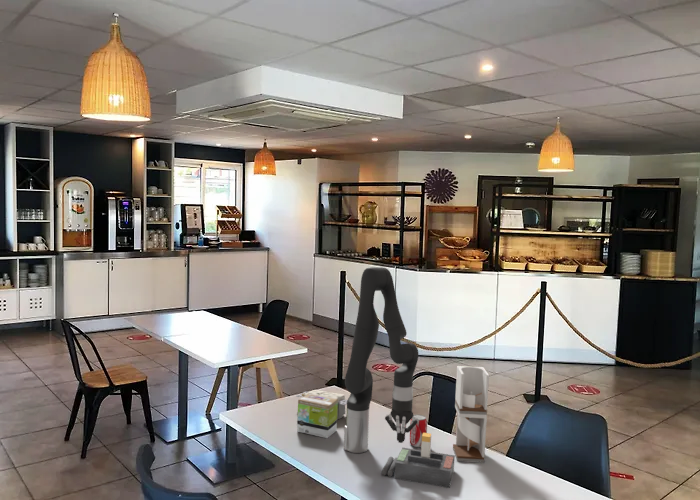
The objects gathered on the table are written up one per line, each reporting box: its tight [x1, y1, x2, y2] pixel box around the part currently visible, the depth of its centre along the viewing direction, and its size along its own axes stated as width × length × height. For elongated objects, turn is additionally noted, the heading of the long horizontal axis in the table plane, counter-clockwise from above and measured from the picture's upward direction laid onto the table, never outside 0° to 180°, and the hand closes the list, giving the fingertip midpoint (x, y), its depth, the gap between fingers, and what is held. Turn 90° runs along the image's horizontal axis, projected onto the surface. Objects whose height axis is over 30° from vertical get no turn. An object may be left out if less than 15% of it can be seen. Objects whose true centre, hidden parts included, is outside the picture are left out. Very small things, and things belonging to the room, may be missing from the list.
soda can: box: [409, 414, 428, 448], centre depth 241 cm, size 7×7×12 cm
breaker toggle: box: [420, 432, 432, 458], centre depth 214 cm, size 3×3×9 cm
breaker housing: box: [394, 447, 456, 489], centre depth 215 cm, size 20×14×8 cm
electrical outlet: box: [295, 389, 348, 420], centre depth 273 cm, size 12×28×10 cm, turn 57°
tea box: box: [296, 394, 338, 439], centre depth 252 cm, size 15×10×15 cm
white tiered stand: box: [452, 365, 490, 463], centre depth 232 cm, size 11×11×35 cm
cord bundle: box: [381, 456, 398, 477], centre depth 219 cm, size 4×14×2 cm, turn 164°
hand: (400, 441), depth 217 cm, fingers closed
